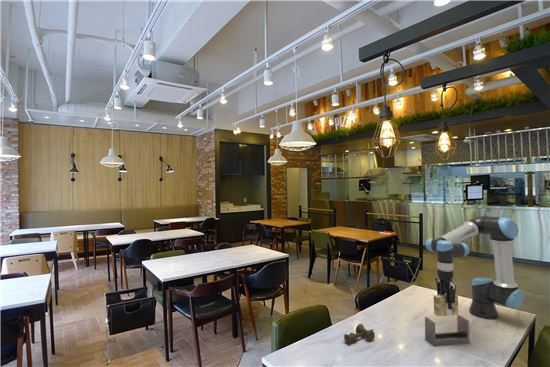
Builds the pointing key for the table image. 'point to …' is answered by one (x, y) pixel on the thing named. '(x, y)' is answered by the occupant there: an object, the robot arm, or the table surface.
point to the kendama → (359, 334)
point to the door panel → (444, 305)
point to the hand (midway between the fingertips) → (446, 313)
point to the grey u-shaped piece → (448, 337)
